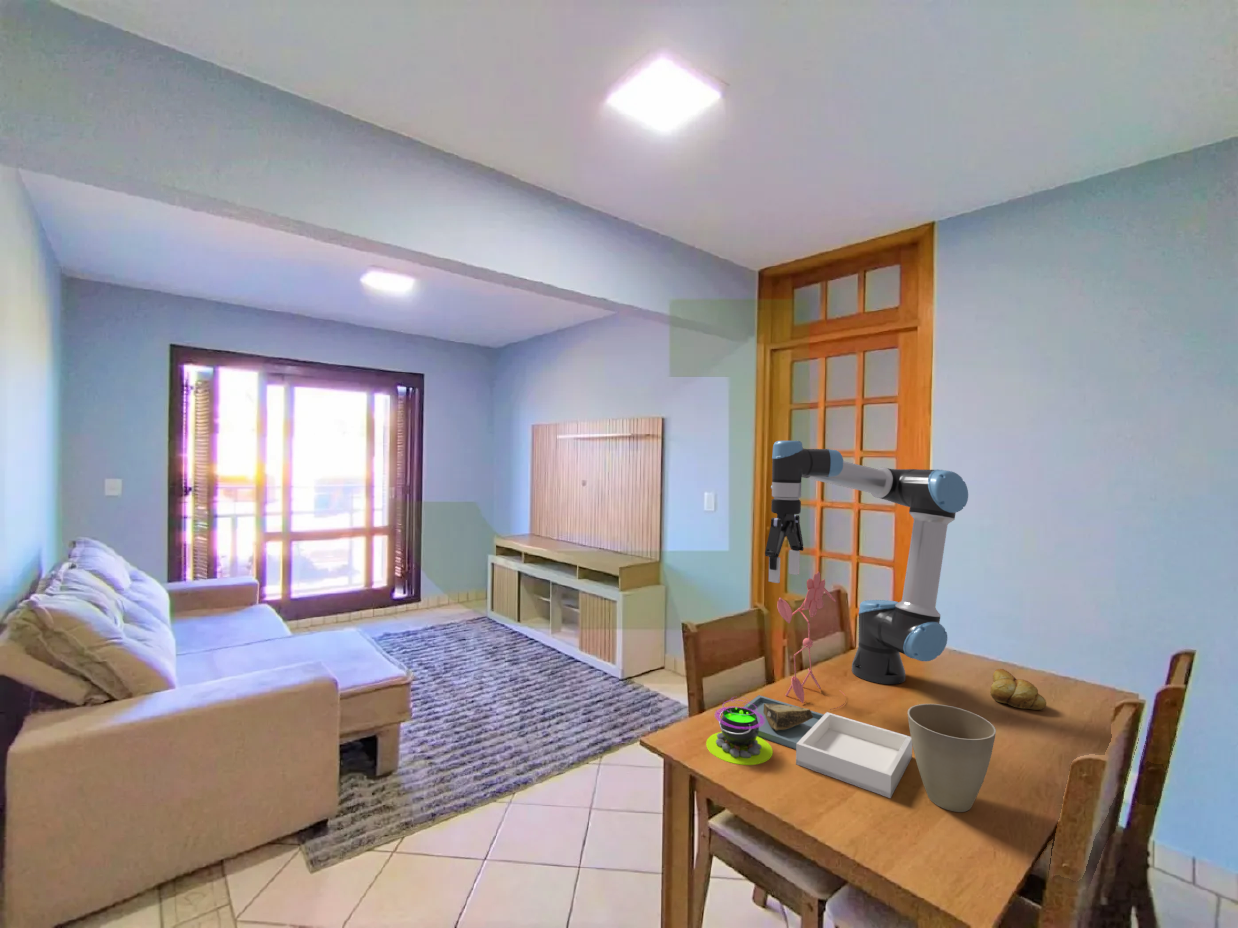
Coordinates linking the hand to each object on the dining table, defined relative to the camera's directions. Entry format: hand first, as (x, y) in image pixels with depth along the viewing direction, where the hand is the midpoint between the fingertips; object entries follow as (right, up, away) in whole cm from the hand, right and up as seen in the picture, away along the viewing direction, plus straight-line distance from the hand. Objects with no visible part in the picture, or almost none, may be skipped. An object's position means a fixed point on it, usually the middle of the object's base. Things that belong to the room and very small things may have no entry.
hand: (784, 578), depth 150 cm
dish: (+8, -35, -26) cm, 44 cm away
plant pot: (+20, -36, -40) cm, 57 cm away
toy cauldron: (-17, -35, -21) cm, 44 cm away
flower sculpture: (+11, -35, +6) cm, 37 cm away
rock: (-5, -36, -6) cm, 37 cm away
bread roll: (+66, -36, +5) cm, 75 cm away
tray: (-4, -35, -9) cm, 36 cm away
